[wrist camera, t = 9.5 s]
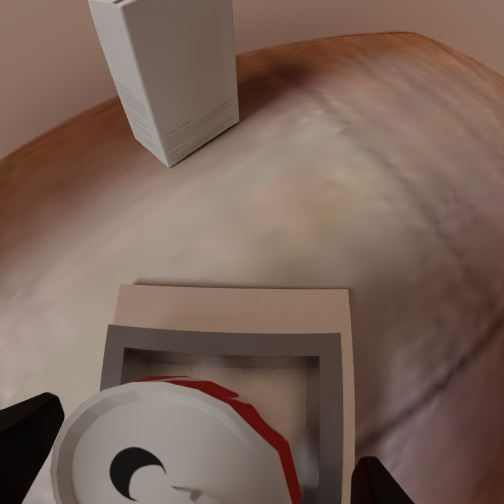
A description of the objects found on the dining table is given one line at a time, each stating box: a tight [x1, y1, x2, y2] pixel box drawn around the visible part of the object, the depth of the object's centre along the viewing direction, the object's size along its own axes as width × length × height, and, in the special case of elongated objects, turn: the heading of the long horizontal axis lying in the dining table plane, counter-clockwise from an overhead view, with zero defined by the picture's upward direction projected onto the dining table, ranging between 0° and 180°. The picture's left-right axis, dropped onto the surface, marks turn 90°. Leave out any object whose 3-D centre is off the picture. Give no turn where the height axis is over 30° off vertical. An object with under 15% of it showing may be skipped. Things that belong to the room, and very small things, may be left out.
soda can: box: [50, 375, 301, 504], centre depth 9 cm, size 6×6×12 cm
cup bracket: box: [100, 284, 355, 504], centre depth 13 cm, size 18×14×5 cm
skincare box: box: [88, 0, 239, 168], centre depth 21 cm, size 8×6×15 cm
